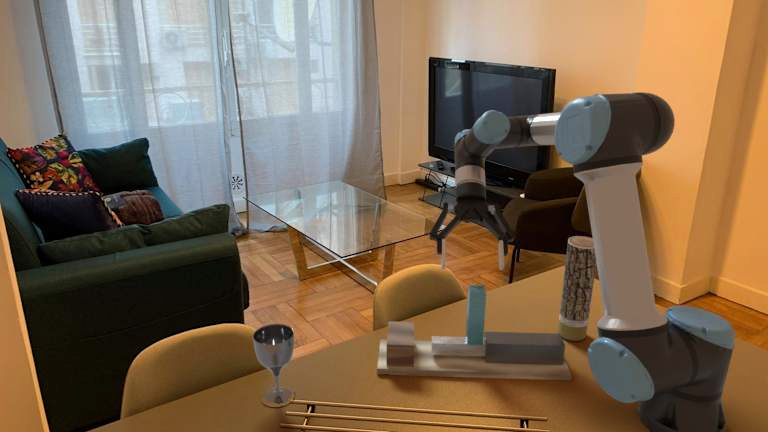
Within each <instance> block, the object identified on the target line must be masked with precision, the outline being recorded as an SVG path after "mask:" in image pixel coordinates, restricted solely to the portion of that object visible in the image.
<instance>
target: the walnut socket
mask: <svg viewBox="0 0 768 432" xmlns="http://www.w3.org/2000/svg"><path fill="white" fill-rule="evenodd" d="M387 324H388V325H387V335H386V339H387V366H395V367H414V340H415V322H414V321H388V323H387Z"/></svg>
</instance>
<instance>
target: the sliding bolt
mask: <svg viewBox="0 0 768 432" xmlns="http://www.w3.org/2000/svg"><path fill="white" fill-rule="evenodd" d="M467 286H468V288H467V291H468V292H467V305H466V307H467V309H466V327H465V336H445V335H443V336H439V335H438V336H436V335H431V341H432V342H431V352H432V355H454V356H486V340H485V338H484V332H485V319H486V318H485V317H486V305H487V290H486V286H485V285H479V284H478V285H477V284H476V285H475V284H468V285H467Z"/></svg>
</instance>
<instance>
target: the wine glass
mask: <svg viewBox="0 0 768 432" xmlns="http://www.w3.org/2000/svg"><path fill="white" fill-rule="evenodd" d="M252 339H253V346H254V351H255V356H256V358H257V360H258V362H259V363H260V365H261V366H263V367H264V368H265V369H266V370H269V371H270V373H271V374H272V376H273V378H274V379H273V380H274V383H275V385H274V387H275V388H273V387H271V388H272V389H271V390H268V389H267V390H268V391H267V392H266V393H265V395H264V396H265V397H264V398H265V399H266V400H267V401H268V402H270V403H271V402H272V403H273V402H274V403H277V404H280V403H284V402H287V401H288V398H290V397H291V395H292V392H291V391H290V389H289V388H290V387H289V388H284V387H285V386H284V387H279V386H280V374H281V372H282V370H283V369H284V368H285V367H286V366H287V365H288V364H289V362H290V361H291V359H292V358H293V354H294V351H295V350H294V347H295V332H294V330H293V328H292V327H291V326H289V325H287V324H283V323H270V324H266V325H263V326H260V327H258V328H257V329H256V330H255V331H254V332H253V336H252ZM290 399H291V398H290Z"/></svg>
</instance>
